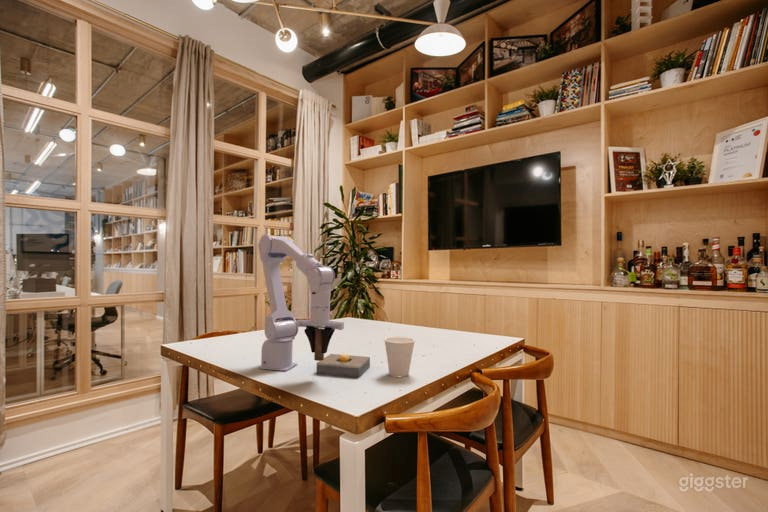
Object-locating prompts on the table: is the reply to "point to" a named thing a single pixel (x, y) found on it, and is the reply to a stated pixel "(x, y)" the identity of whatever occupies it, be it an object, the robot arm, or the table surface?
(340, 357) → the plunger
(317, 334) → the brown wooden block
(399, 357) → the cup
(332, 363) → the grey block with hole
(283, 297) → the robot arm
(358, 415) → the table surface
